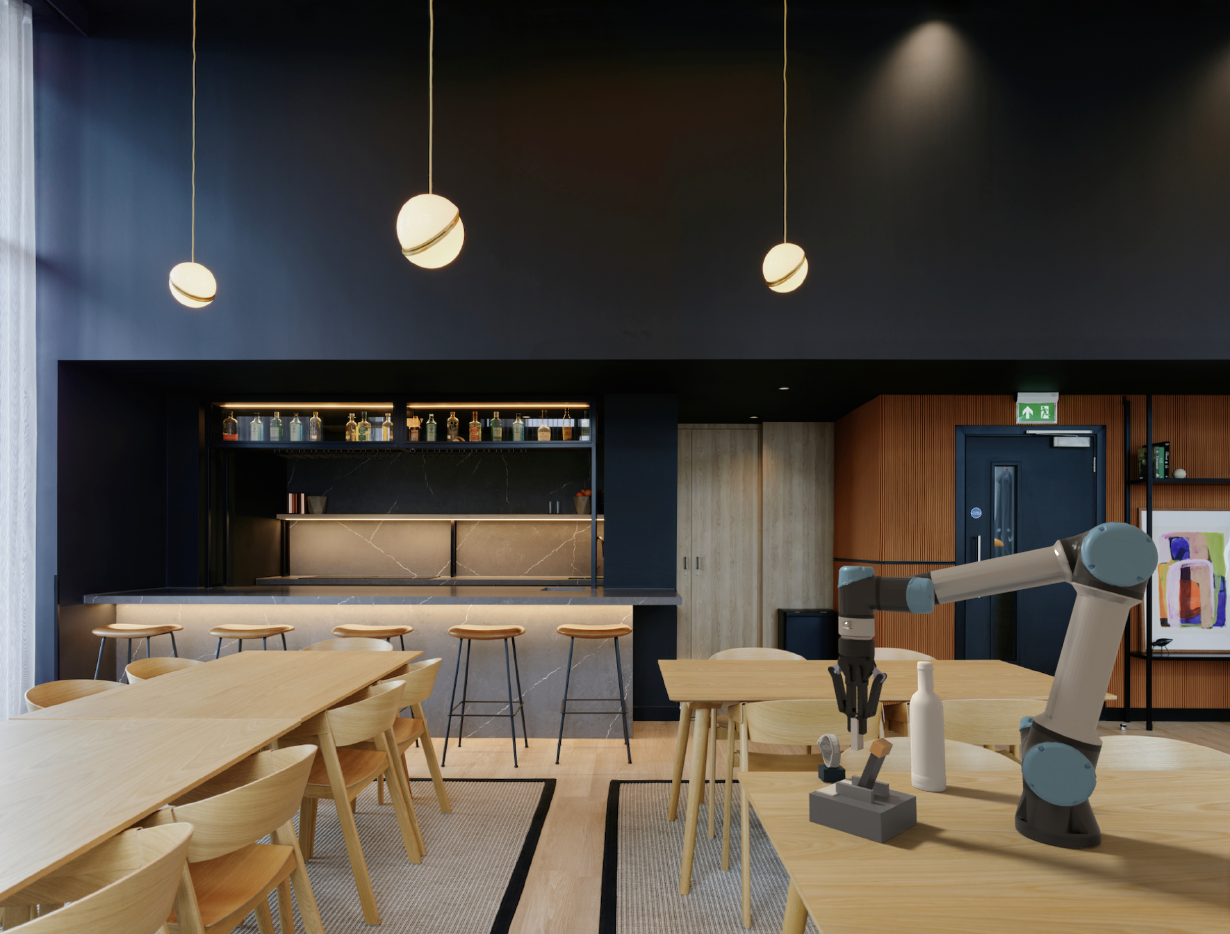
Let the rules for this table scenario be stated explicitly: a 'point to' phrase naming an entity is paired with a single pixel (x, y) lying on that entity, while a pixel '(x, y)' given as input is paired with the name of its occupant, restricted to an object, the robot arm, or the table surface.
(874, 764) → the lever
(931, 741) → the bottle
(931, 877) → the table surface
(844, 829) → the box
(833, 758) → the watch
